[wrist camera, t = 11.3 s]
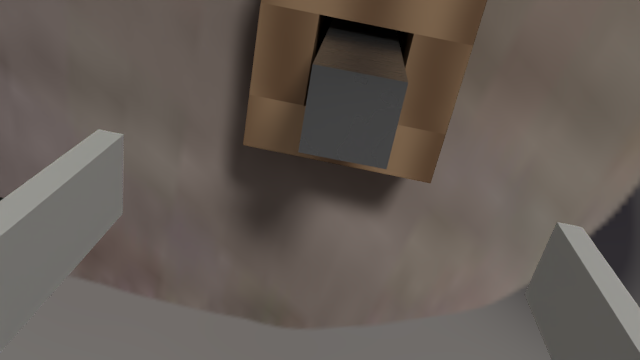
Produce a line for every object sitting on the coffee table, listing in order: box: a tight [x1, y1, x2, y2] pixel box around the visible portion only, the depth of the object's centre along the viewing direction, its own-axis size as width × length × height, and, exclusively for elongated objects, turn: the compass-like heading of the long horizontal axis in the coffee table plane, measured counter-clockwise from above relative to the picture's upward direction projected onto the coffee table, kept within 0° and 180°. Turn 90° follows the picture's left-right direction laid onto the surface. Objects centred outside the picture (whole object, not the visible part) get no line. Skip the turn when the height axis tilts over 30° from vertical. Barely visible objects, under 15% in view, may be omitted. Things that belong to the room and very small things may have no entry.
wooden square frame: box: [243, 0, 487, 183], centre depth 35 cm, size 13×13×6 cm
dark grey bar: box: [298, 17, 408, 169], centre depth 31 cm, size 4×4×15 cm
